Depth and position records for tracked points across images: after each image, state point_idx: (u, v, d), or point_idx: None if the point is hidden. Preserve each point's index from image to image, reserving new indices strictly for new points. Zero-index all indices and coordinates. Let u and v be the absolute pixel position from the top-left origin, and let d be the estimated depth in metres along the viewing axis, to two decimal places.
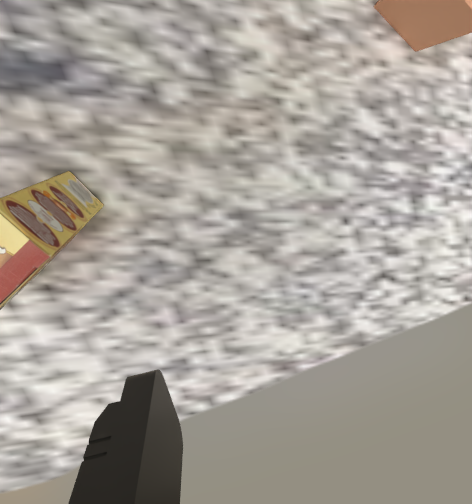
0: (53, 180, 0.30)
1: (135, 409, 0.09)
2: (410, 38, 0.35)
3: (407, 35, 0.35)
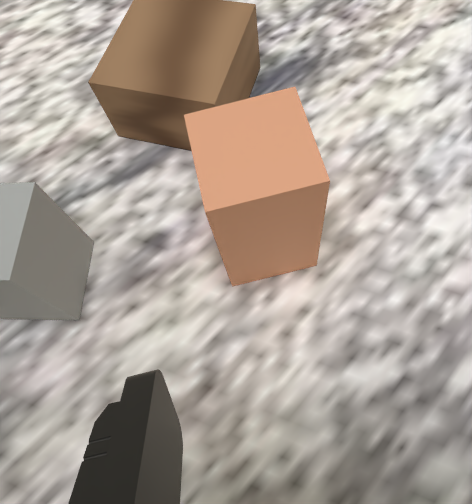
0: None
1: (135, 409, 0.09)
2: (295, 265, 0.24)
3: (288, 266, 0.24)
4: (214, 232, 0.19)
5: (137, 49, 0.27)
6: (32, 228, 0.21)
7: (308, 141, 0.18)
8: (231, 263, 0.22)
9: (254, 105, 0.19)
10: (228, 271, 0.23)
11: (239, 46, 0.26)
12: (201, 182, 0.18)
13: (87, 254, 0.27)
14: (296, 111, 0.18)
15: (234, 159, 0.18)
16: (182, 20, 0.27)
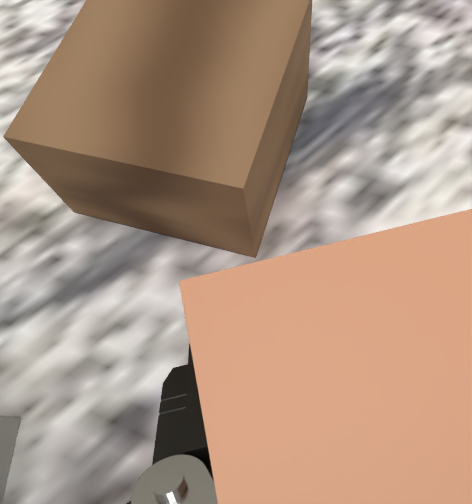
0: None
1: None
2: None
3: None
4: None
5: (96, 74, 0.14)
6: None
7: None
8: None
9: (377, 261, 0.07)
10: None
11: (286, 70, 0.14)
12: None
13: (4, 451, 0.14)
14: None
15: (334, 453, 0.06)
16: (179, 20, 0.15)
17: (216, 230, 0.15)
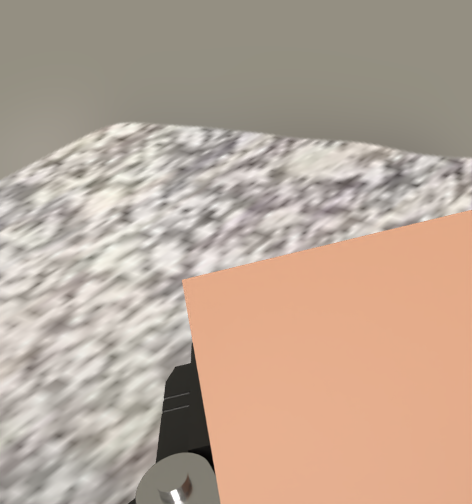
0: None
1: None
2: None
3: None
4: None
5: None
6: None
7: None
8: None
9: (380, 261, 0.07)
10: None
11: None
12: None
13: None
14: None
15: (336, 453, 0.06)
16: None
17: None
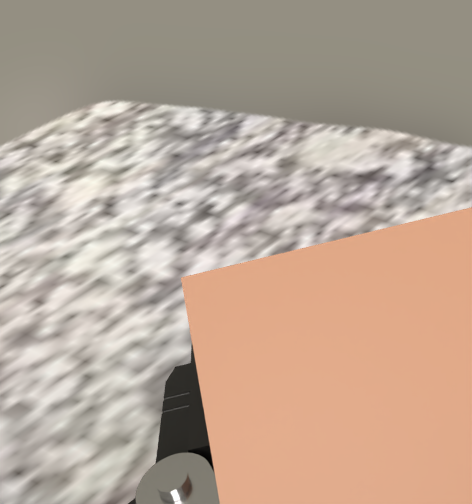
0: None
1: None
2: None
3: None
4: None
5: None
6: None
7: None
8: None
9: (380, 258, 0.07)
10: None
11: None
12: None
13: None
14: None
15: (335, 450, 0.06)
16: None
17: None
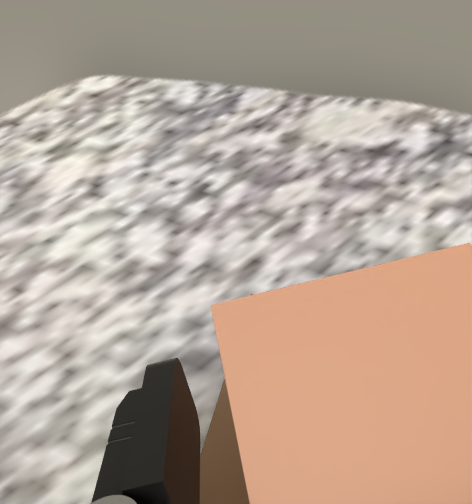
0: None
1: (157, 394, 0.09)
2: None
3: None
4: None
5: None
6: None
7: None
8: None
9: (378, 290, 0.08)
10: None
11: None
12: None
13: None
14: None
15: (342, 451, 0.07)
16: None
17: None
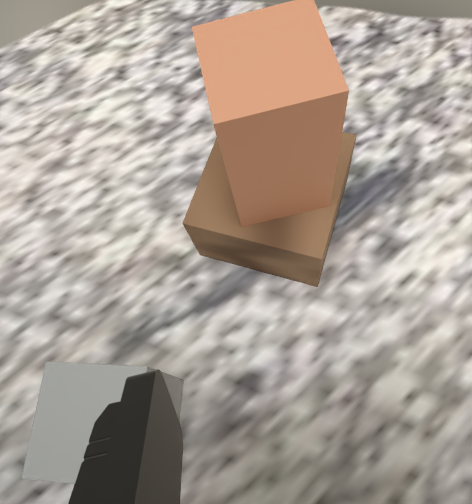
0: None
1: (135, 409, 0.09)
2: (308, 203, 0.23)
3: (301, 205, 0.23)
4: (223, 153, 0.18)
5: None
6: None
7: (326, 51, 0.16)
8: (241, 196, 0.21)
9: (268, 16, 0.17)
10: (237, 206, 0.22)
11: (342, 186, 0.25)
12: (210, 94, 0.16)
13: (179, 398, 0.26)
14: (313, 21, 0.17)
15: (245, 70, 0.17)
16: None
17: (296, 272, 0.26)
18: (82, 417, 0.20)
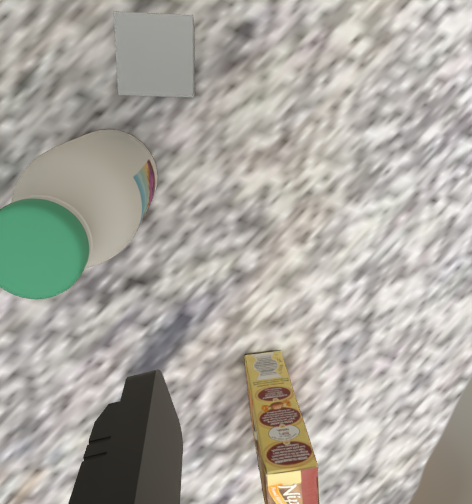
0: (253, 385, 0.41)
1: (135, 409, 0.09)
2: None
3: None
4: None
5: None
6: None
7: None
8: None
9: None
10: None
11: None
12: None
13: (194, 43, 0.35)
14: None
15: None
16: None
17: None
18: (151, 53, 0.29)
